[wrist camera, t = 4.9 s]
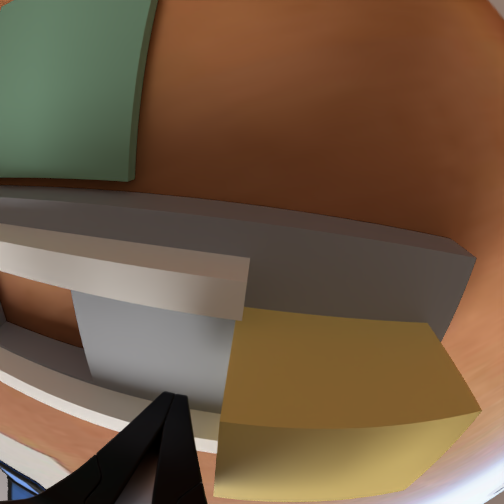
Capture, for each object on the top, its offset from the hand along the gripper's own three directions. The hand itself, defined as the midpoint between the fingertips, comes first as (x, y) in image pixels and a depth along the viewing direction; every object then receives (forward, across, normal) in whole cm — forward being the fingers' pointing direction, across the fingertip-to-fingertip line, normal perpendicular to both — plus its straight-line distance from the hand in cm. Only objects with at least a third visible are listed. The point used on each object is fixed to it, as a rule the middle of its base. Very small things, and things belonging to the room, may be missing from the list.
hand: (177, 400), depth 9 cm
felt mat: (+4, +7, -10) cm, 13 cm away
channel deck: (+4, +2, 0) cm, 5 cm away
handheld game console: (+4, +38, +54) cm, 67 cm away
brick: (+2, -5, 0) cm, 5 cm away
